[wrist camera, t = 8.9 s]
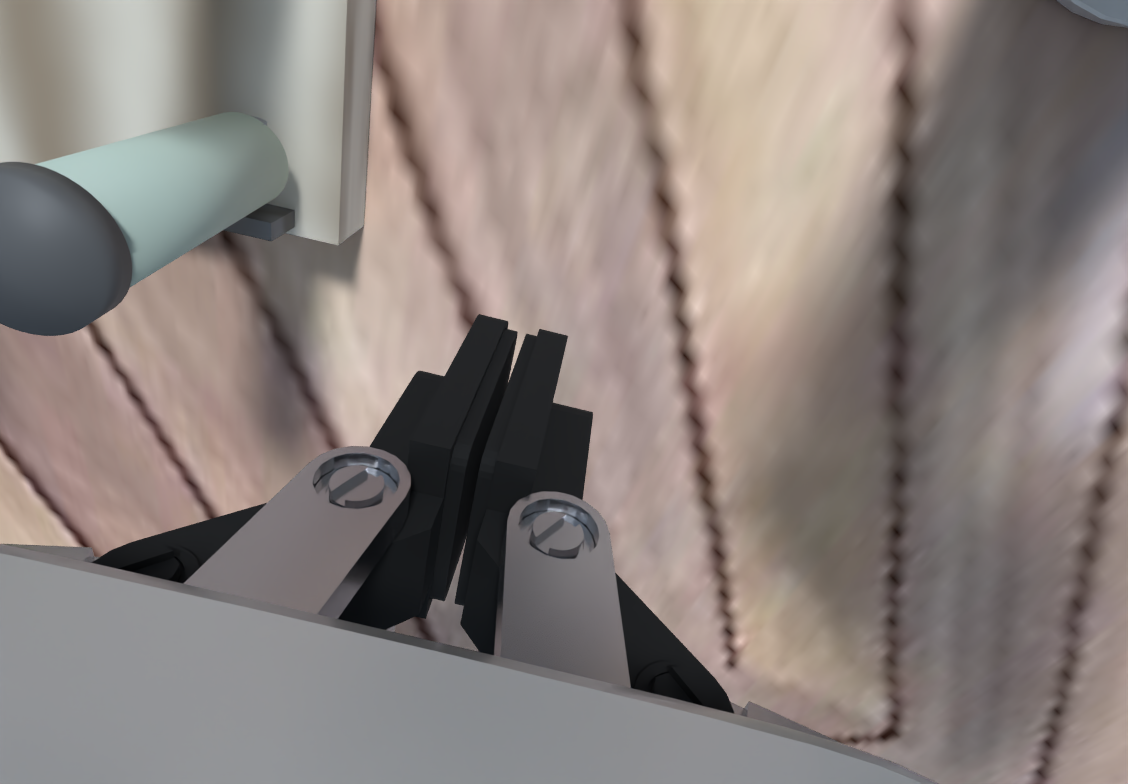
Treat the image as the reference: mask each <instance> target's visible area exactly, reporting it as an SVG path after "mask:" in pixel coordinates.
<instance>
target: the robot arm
mask: <svg viewBox="0 0 1128 784" xmlns="http://www.w3.org/2000/svg"><path fill="white" fill-rule="evenodd" d="M1057 1H1058V2H1059V3H1060V4H1062V5H1063V6H1064V7H1066V8H1067V9H1068V10H1070V11H1071V12H1073V13H1075V14H1078V15H1080V16H1082V17H1085V18H1087V19H1090V20H1092V21H1095V22H1097V23H1100V24H1105V25H1112V26H1119V27H1126V28H1128V0H1057ZM567 338H568V336H566V335H562V334H558V333H554V332H550V331H546V330H542V329H539V332H538V335H537V336H534V335H529V334H526V336H525V339H524V341H523V344H522V347H521V350H520V352H519V355H518V358H517V361H516V363H515V366H514V369H513V372H512V374H511V377H510V380H509V375H510V370H511V365H512V360H513V355H514V350H515V345H516V339H517V331H513V330H509V329H508V321H505V320H501V319H496V318H492V317H488V316H484V315H480V314H479V315H478V316H477V318H476V320H475V321H474V323H473V325H472V327H471V329H470V331H469V332H468V334H467V336H466V338H465V340H464V342H463V343H462V345H461V347H460V349H459V351H458V353H457V354H456V356H455V358H454V360H453V362H452V364H451V365H450V367H449V369H448V371H447V373H446V375H445V376H440V375H436V374H432V373H428V372H424V371H418V372H417V373H416V374H415V375H414V377H413V378H412V380H411V382H410V383H409V385H408V386H407V388H406V390H405V391H404V393H403V394H402V396H401V397H400V399H399V401H398V402H397V404H396V405H395V407H394V409H393V410H392V412H391V413H390V415H389V417H388V418H387V420H386V421H385V423H384V424H383V426H382V428H381V429H380V431H379V432H378V434H377V436H376V437H375V439H374V440H373V442H372V444H371V445H370V447H363V446H349V447H343V448H337V449H334V450H331V451H328V452H326V453H323V454H321V455H319V456H318V457H317V458H315V459H314V460H312V461H311V462H310V463H308V464H307V465H306V466H305V467H304V468H303V469H302V470H301V471H300V472H299V473H298V474H297V475H296V476H295V477H294V478H293V479H292V480H291V481H290V482H289V483H288V484H287V485H286V486H285V487H283V488H282V489H281V490H280V491H279V492H278V493H277V494H276V495H275V496H274V497H273V498H272V499H271V500H270V501H269V502H268V503H265V504H261V505H258V506H255V507H251V508H248V509H244V510H241V511H237V512H234V513H230V514H227V515H224V516H220V517H217V518H213V519H210V520H206V521H203V522H199V523H196V524H193V525H189V526H186V527H182V528H179V529H175V530H172V531H168V532H165V533H162V534H158V535H155V536H151V537H148V538H144V539H141V540H137V541H134V542H131V543H128V544H126V545H123V546H121V547H118V548H116V549H113V550H111V551H109V552H108V553H106V554H105V555H103V556H101V557H94V554H93V550H92V548H88V547H64V546H41V545H18V544H0V784H938V783H936V782H934V781H932V780H930V779H928V778H926V777H923V776H921V775H919V774H917V773H915V772H913V771H911V770H909V769H907V768H905V767H903V766H900V765H898V764H896V763H894V762H891V761H888V760H886V759H883V758H880V757H878V756H875V755H872V754H870V753H867V752H864V751H862V750H859V749H856V748H853V747H851V746H848V745H845V744H842V743H840V742H838V741H835V740H833V739H831V738H829V737H827V736H825V735H822V734H820V733H818V732H816V731H814V730H811V729H809V728H807V727H805V726H803V725H800V724H798V723H796V722H794V721H792V720H789V719H787V718H785V717H783V716H781V715H778V714H776V713H774V712H772V711H770V710H768V709H765V708H763V707H761V706H759V705H757V704H754V703H752V702H750V701H749V702H748V703H747V705H746V706H745V708H742V707H740V706H738V705H736V704H734V703H731V702H730V701H729V698H728V696H727V694H726V692H725V691H724V690H723V688H722V687H721V686H720V684H719V683H718V682H717V680H716V679H715V678H714V677H713V676H712V675H711V674H710V673H709V671H708V670H707V669H706V668H705V667H704V666H703V665H702V664H701V663H700V662H699V661H698V660H697V659H696V658H695V657H694V656H693V655H692V653H691V652H690V651H689V650H688V649H687V648H686V647H685V646H684V645H683V644H682V643H681V642H680V641H679V640H678V639H677V638H676V637H675V635H674V634H673V633H672V632H671V631H670V630H669V629H668V628H667V627H666V626H665V625H664V624H663V623H662V622H661V621H660V620H659V619H658V617H657V616H656V615H655V614H654V613H653V612H652V611H651V610H650V609H649V608H648V607H647V606H646V605H645V604H644V603H643V602H642V600H641V599H640V598H639V597H638V596H637V595H636V594H635V593H634V592H633V591H632V590H631V589H630V588H629V587H628V586H627V585H626V584H625V582H624V581H623V580H622V579H621V578H620V577H619V576H618V575H617V574H616V573H615V568H614V560H613V553H612V546H611V538H610V533H609V530H608V527H607V524H606V521H605V520H604V519H603V517H602V516H601V515H600V513H599V512H598V511H597V510H596V509H594V508H593V507H592V506H591V505H589V504H588V503H587V502H585V501H583V500H582V499H583V491H584V483H585V475H586V467H587V459H588V451H589V443H590V435H591V427H592V419H593V412H589V411H585V410H581V409H577V408H573V407H569V406H564V405H560V404H556V403H553V398H554V394H555V390H556V386H557V381H558V377H559V373H560V368H561V364H562V360H563V355H564V351H565V347H566V342H567ZM508 380H509V383H508ZM466 537H467V538H466ZM465 540H466V543H465ZM464 543H465V549H464V554H463V560H462V565H461V570H460V576H459V581H458V587H457V592H456V598H455V604H459V605H463V606H464V609H463V614H462V619H461V626H462V627H463V629H464V630H465V631H466V633H467V634H468V636H469V637H470V639H471V640H472V642H473V643H474V644H475V646H476V647H477V649H478V652H477V651H472V650H468V649H464V648H459V647H455V646H451V645H447V644H442V643H438V642H434V641H430V640H425V639H421V638H417V637H412V636H408V635H404V634H400V633H395V625H397V624H399V623H401V622H404V621H406V620H408V619H410V618H412V617H415V616H416V617H420V618H424V619H426V616H427V613H428V610H429V608H430V605H431V602H432V599H438V600H442V601H445V599H446V596H447V593H448V590H449V587H450V584H451V581H452V578H453V575H454V572H455V570H456V567H457V564H458V561H459V558H460V555H461V552H462V549H463V546H464Z"/></svg>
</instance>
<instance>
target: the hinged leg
mask: <svg viewBox="0 0 1128 784" xmlns="http://www.w3.org/2000/svg"><path fill="white" fill-rule="evenodd" d="M288 173H289V167H288V160H287V156H286V153H285V150H284V148H283V146H282V144H281V142H280V140H279V139H278V138H277V136H276V135H275V134H274V133H273V131H272V130H271V129H270V128H269V127H267V122H266V121H265V120H263V119H261V118H258V117H254V116H250V115H247V114H244V113H239V112H225V113H220V114H217V115H213V116H210V117H206V118H202V119H199V120H195V121H191V122H188V123H184V124H180V125H177V126H173V127H169V128H166V129H162V130H158V131H155V132H151V133H147V134H144V135H140V136H136V137H133V138H129V139H126V140H122V141H118V142H115V143H111V144H107V145H104V146H100V147H96V148H93V149H89V150H85V151H82V152H78V153H74V154H71V155H67V156H63V157H60V158H56V159H52V160H49V161H45V162H41V163H38V164H31V163H24V162H2V163H0V323H1V324H3V325H5V326H7V327H10V328H13V329H16V330H19V331H22V332H26V333H30V334H36V335H43V336H56V335H65V334H69V333H73V332H75V331H77V330H80V329H82V328H83V327H85V326H86V325H88V324H90V323H91V322H93V321H94V320H96V319H97V318H99V317H101V316H102V315H104V314H105V313H107V312H108V311H110V310H112V309H113V308H115V307H116V306H117V305H118V304H119V303H120V302H121V301H122V300H123V299H124V297H125V296H126V294H127V292H128V290H129V288H130V287H131V286H133V285H135V284H136V283H138V282H139V281H141V280H143V279H144V278H146V277H148V276H149V275H151V274H152V273H154V272H156V271H157V270H159V269H161V268H162V267H164V266H165V265H167V264H169V263H170V262H172V261H174V260H175V259H177V258H179V257H180V256H182V255H183V254H185V253H187V252H188V251H190V250H192V249H193V248H195V247H196V246H198V245H200V244H201V243H203V242H205V241H206V240H208V239H209V238H211V237H213V236H214V235H216V234H218V233H219V232H221V231H222V230H224V229H226V228H227V227H229V226H231V225H232V224H234V223H235V222H237V221H239V220H240V219H242V218H244V217H245V216H247V215H249V214H250V213H252V212H253V211H255V210H257V209H258V208H260V207H262V206H263V205H265V204H266V203H268V202H270V201H271V200H273V199H274V198H276V197H277V196H278V195H279V194H280V193H281V192H282V191H283V189H284V187H285V185H286V183H287V179H288Z"/></svg>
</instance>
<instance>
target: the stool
mask: <svg viewBox="0 0 1128 784" xmlns="http://www.w3.org/2000/svg"><path fill="white" fill-rule="evenodd" d="M375 13H376V0H0V163H2V162H24V163H31V164H38V163H41V162H45V161H49V160H52V159H56V158H60V157H63V156H67V155H71V154H74V153H78V152H82V151H85V150H89V149H93V148H96V147H100V146H104V145H107V144H111V143H115V142H118V141H122V140H126V139H129V138H133V137H136V136H140V135H144V134H147V133H151V132H155V131H158V130H162V129H166V128H169V127H173V126H177V125H180V124H184V123H188V122H191V121H195V120H199V119H202V118H206V117H210V116H213V115H217V114H220V113H225V112H239V113H244V114H247V115H250V116H254V117H258V118H261V119H263V120H265V121H266V122H267V127H269V128H270V129H271V130H272V131H273V133H274V134H275V135H276V136H277V138H278V139H279V140H280V142H281V144H282V146H283V148H284V150H285V153H286V156H287V160H288V167H289V173H288V179H287V183H286V185H285V187H284V189H283V191H282V192H281V193H280V194H279V195H278V196H277V197H276V198H274V199H273V200H271V201H270V202H268V203H266V204H265V205H263V206H262V207H260V208H258V209H257V210H255V211H253V212H252V213H250V214H249V215H247V216H245V217H244V218H242V219H240V220H239V221H237V222H235V223H234V224H232V225H231V226H229V227H227V228H226V229H224V230H225V231H229V232H233V233H238V234H242V235H246V236H251V237H255V238H259V239H264V240H268V241H273V240H274V239H276V238H278V237H279V236H281V235H283V234H284V233H287V234H291V235H295V236H300V237H304V238H308V239H313V240H317V241H321V242H326V243H330V244H334V245H340V244H341V243H342V242H344V241H345V240H346V239H347V238H349V237H350V236H351V235H353V234H354V233H355V232H356V231H358V230H359V229H360V228H362V227H363V226H364V212H365V194H366V176H367V158H368V140H369V122H370V103H371V85H372V67H373V49H374V31H375Z"/></svg>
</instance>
